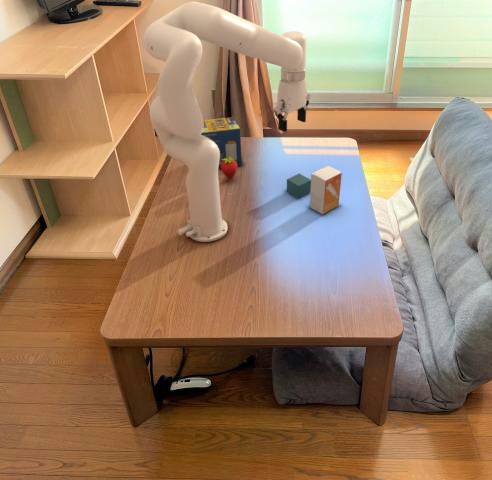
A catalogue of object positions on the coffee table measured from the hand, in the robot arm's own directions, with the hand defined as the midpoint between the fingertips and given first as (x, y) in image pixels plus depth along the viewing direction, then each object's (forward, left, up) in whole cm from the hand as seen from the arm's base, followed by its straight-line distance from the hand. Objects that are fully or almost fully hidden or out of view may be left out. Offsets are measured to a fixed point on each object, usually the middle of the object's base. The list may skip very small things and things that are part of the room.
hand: (292, 125), depth 163 cm
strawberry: (-15, +16, -22) cm, 31 cm away
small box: (-2, -19, -22) cm, 29 cm away
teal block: (-2, -7, -22) cm, 23 cm away
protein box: (-10, +29, -22) cm, 38 cm away
